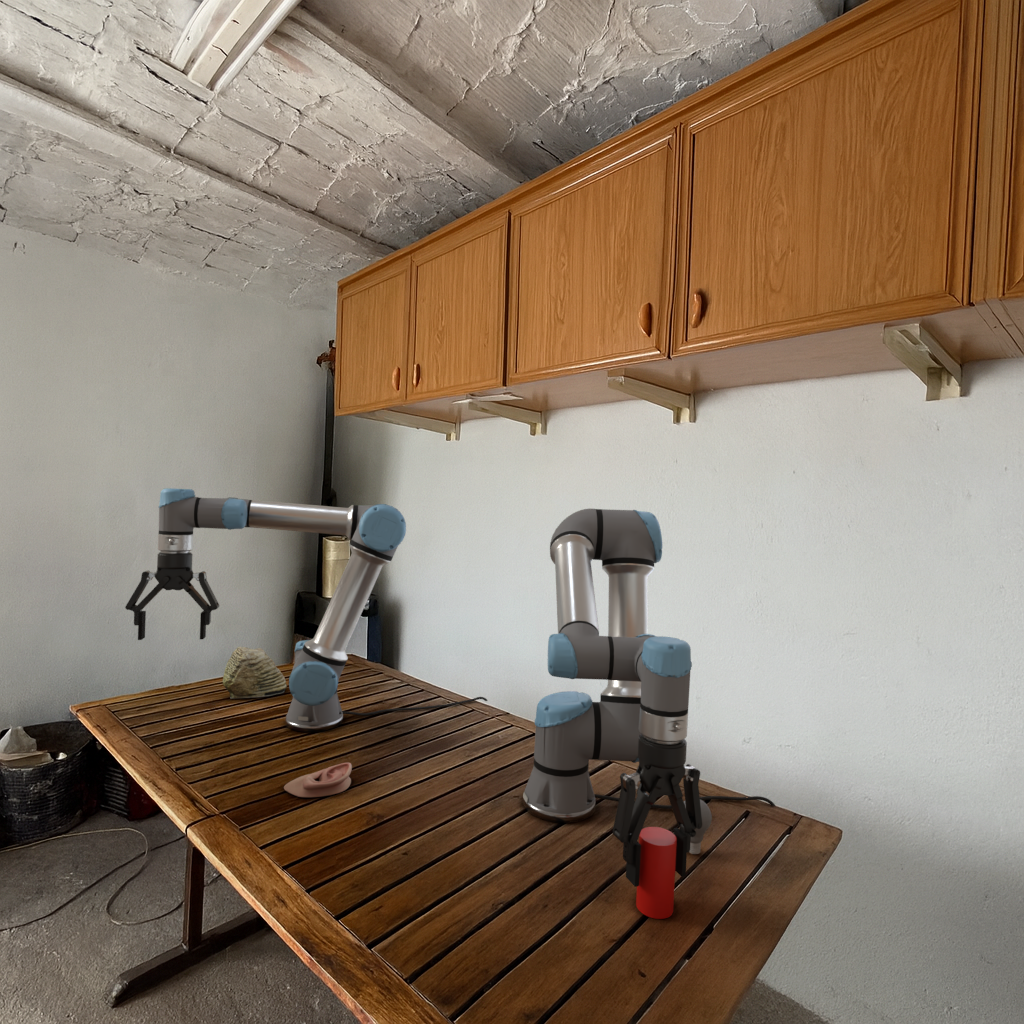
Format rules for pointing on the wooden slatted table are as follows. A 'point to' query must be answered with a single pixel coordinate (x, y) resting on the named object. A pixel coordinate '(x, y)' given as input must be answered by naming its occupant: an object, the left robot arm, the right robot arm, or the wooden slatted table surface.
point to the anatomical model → (321, 782)
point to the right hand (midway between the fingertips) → (655, 876)
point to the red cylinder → (656, 872)
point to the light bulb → (706, 822)
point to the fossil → (252, 674)
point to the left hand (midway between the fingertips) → (172, 638)
